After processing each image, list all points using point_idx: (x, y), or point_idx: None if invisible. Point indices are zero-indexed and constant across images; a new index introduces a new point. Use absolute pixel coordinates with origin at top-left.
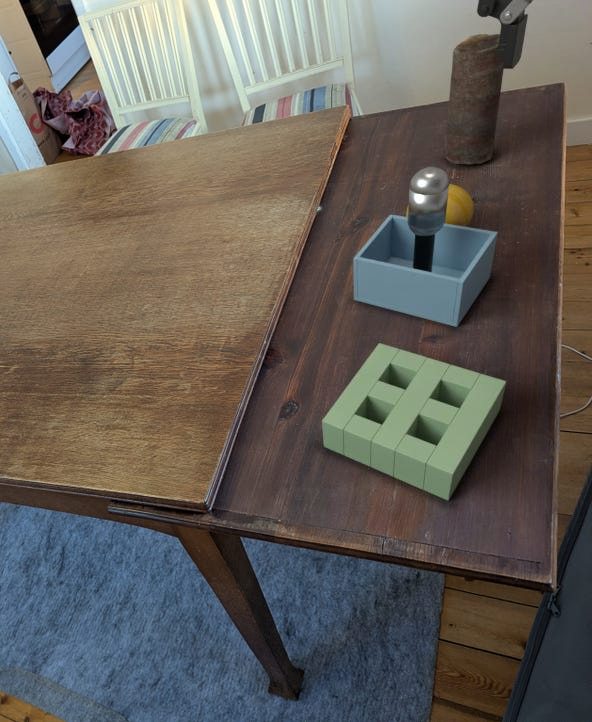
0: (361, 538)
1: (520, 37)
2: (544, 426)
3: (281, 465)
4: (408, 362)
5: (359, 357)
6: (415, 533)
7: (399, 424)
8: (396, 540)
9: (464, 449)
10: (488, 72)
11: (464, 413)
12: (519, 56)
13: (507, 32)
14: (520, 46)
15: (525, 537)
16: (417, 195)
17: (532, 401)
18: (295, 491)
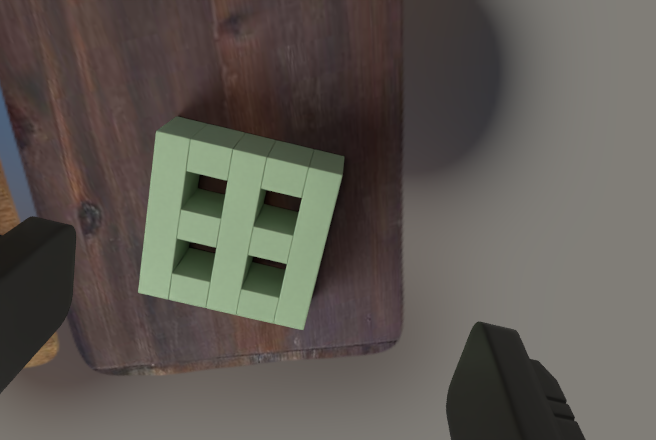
0: (237, 361)
1: (6, 330)
2: (396, 170)
3: (122, 302)
4: (210, 164)
5: (140, 93)
6: (285, 342)
7: (230, 277)
8: (270, 354)
9: (309, 296)
10: None
11: (300, 243)
12: (64, 251)
13: None
14: (37, 278)
15: (384, 319)
16: None
17: (381, 130)
18: (153, 329)
